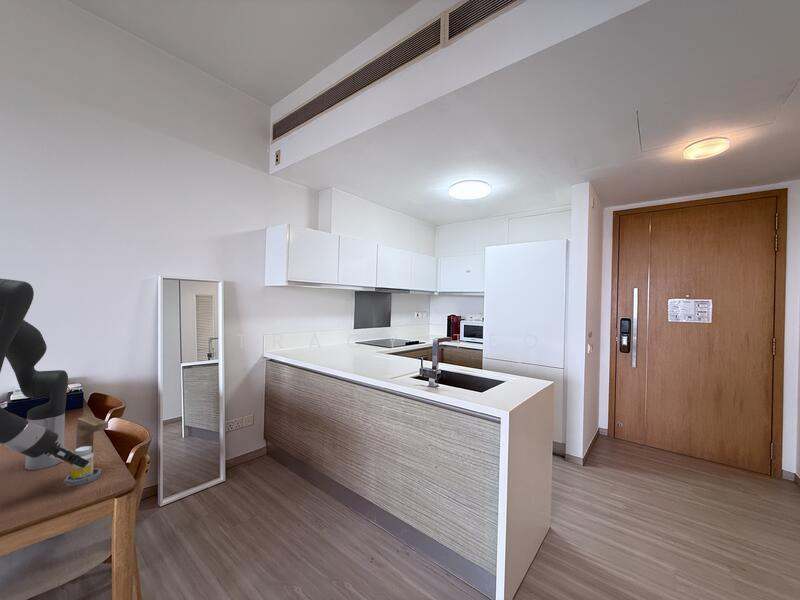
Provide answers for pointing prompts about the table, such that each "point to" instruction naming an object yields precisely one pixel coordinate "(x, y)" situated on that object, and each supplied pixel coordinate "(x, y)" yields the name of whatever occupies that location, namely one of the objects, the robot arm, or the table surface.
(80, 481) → the locator ring
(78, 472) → the supplement bottle
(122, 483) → the table surface
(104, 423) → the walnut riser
